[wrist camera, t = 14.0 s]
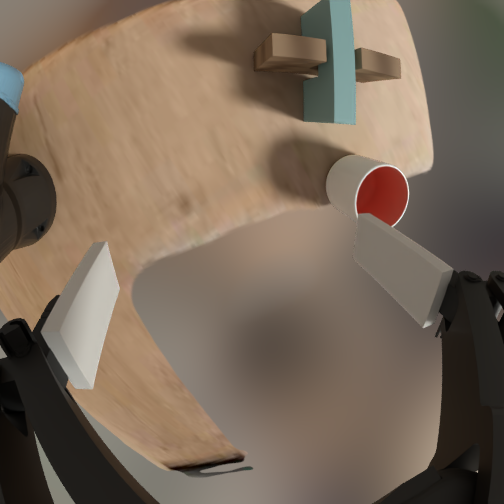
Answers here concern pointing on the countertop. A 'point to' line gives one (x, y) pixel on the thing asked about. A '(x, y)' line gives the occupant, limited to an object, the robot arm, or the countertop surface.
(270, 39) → the u-notched wood block
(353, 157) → the cup
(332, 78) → the teal arch piece
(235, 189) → the countertop surface
